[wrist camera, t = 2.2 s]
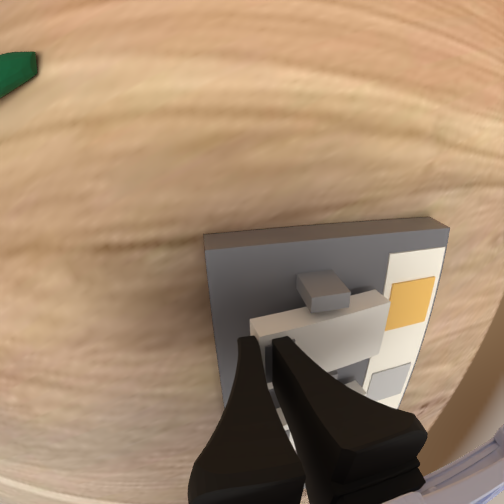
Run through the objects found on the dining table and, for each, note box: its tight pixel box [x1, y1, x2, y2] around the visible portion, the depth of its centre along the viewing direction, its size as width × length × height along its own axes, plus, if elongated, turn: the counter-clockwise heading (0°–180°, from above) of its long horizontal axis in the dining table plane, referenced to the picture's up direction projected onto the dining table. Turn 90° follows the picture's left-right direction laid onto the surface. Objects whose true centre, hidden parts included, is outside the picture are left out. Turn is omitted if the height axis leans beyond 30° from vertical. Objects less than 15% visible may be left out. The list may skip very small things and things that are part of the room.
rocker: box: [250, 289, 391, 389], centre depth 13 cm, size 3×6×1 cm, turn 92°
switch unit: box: [204, 217, 450, 489], centre depth 17 cm, size 20×12×4 cm, turn 2°
